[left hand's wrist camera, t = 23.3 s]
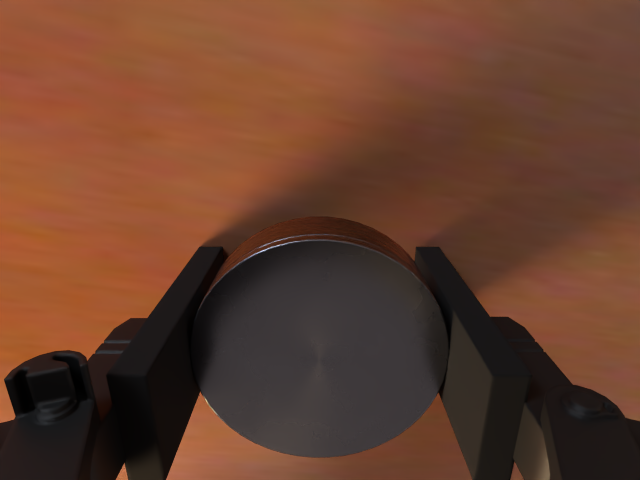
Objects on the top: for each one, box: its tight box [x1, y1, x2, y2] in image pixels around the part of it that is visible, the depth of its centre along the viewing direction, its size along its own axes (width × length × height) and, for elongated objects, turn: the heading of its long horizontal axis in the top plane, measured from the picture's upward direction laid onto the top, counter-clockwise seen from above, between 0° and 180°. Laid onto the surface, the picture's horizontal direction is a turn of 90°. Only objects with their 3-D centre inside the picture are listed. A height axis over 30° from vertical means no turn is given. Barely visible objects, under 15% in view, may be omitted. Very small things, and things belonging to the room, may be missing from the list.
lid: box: [190, 217, 449, 458], centre depth 11 cm, size 6×6×2 cm
